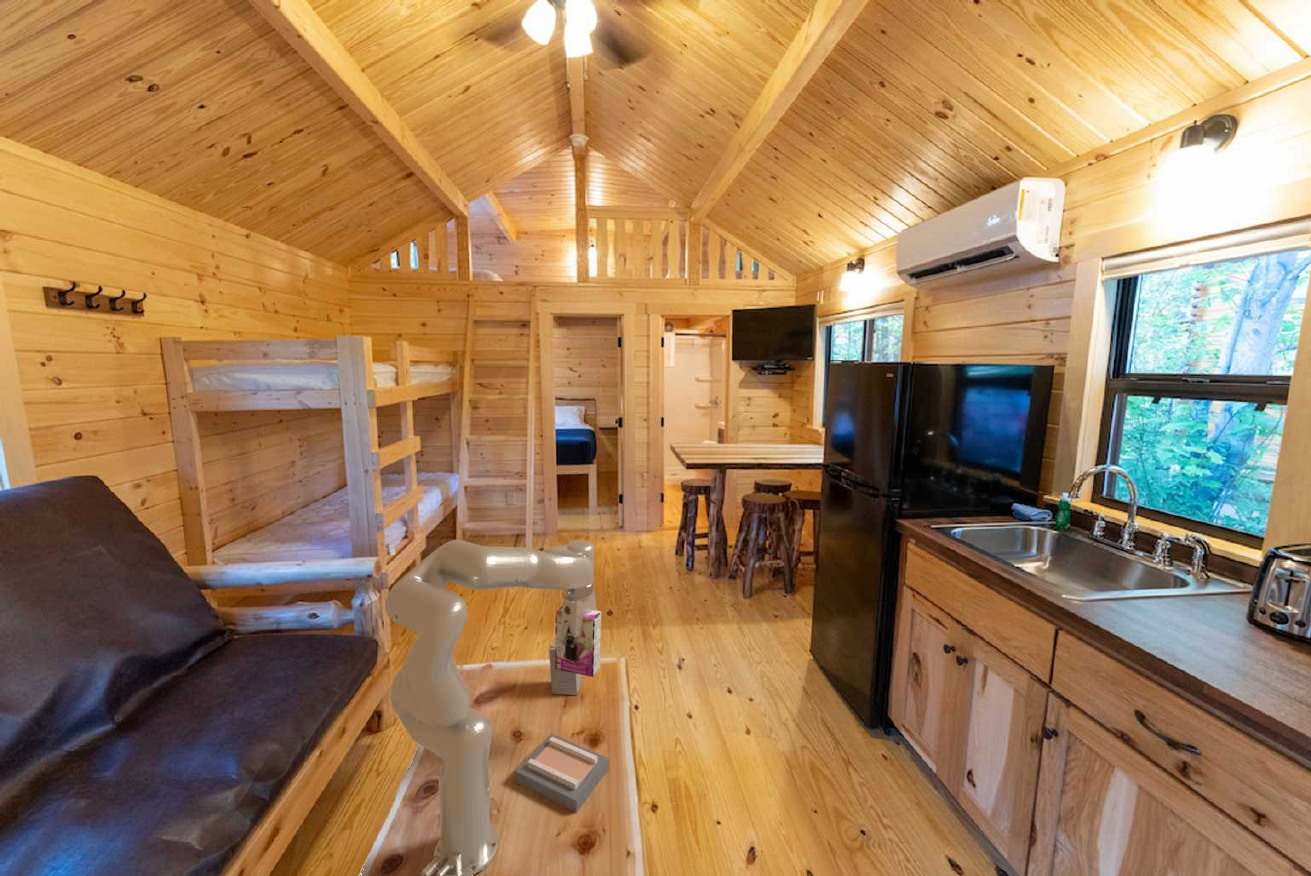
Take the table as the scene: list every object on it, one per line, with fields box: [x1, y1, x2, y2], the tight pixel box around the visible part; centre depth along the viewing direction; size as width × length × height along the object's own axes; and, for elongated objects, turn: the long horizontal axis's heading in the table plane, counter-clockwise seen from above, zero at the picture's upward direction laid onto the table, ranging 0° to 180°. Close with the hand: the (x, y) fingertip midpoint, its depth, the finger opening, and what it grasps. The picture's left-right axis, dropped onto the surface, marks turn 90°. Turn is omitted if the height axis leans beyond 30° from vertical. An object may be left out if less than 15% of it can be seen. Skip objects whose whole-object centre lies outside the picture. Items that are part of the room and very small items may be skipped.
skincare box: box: [548, 636, 583, 696], centre depth 156 cm, size 8×7×16 cm
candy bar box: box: [555, 605, 602, 678], centre depth 133 cm, size 11×5×16 cm, turn 75°
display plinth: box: [514, 732, 610, 813], centre depth 124 cm, size 14×18×4 cm
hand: (577, 652), depth 134 cm, fingers closed on candy bar box, 5 cm apart
